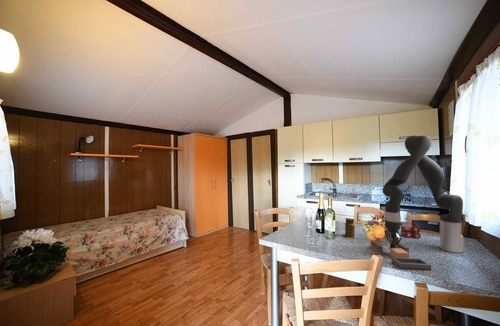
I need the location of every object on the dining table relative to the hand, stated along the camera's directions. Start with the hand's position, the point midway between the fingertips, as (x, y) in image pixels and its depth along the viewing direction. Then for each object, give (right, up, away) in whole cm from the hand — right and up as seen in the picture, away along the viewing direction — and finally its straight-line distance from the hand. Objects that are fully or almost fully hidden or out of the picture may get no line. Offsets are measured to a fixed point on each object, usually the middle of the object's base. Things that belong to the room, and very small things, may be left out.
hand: (392, 249), depth 117 cm
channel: (0, -2, +4) cm, 4 cm away
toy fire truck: (+33, -3, +28) cm, 43 cm away
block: (0, -2, -5) cm, 5 cm away
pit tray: (-1, -2, -15) cm, 15 cm away
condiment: (-11, -3, +28) cm, 30 cm away
